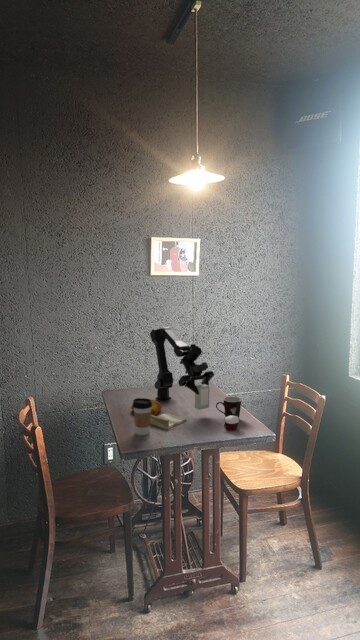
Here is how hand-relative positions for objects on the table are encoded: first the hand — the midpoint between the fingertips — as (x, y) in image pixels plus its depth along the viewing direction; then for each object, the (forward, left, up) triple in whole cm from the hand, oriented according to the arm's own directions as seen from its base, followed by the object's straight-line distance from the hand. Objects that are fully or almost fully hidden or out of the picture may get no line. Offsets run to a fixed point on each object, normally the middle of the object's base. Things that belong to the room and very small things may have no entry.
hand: (203, 393), depth 204 cm
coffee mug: (-6, +11, -12) cm, 18 cm away
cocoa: (+4, +19, -13) cm, 23 cm away
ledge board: (+16, -10, -12) cm, 22 cm away
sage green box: (0, -1, -8) cm, 8 cm away
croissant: (+12, -27, -13) cm, 32 cm away
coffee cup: (+33, -9, -12) cm, 36 cm away
